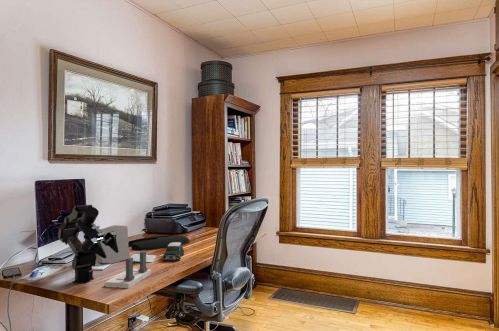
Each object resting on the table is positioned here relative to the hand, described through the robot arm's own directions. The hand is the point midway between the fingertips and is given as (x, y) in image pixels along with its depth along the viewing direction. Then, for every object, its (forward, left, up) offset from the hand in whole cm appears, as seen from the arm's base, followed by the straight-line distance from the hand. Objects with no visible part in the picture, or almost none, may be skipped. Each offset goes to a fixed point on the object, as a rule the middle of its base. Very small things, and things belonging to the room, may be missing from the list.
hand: (111, 255), depth 145 cm
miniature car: (+9, +45, -13) cm, 48 cm away
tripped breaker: (+8, 0, -10) cm, 13 cm away
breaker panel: (+5, +6, -12) cm, 15 cm away
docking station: (-13, +76, -13) cm, 79 cm away
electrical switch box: (-24, +35, -13) cm, 44 cm away
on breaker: (+8, +12, -10) cm, 18 cm away
